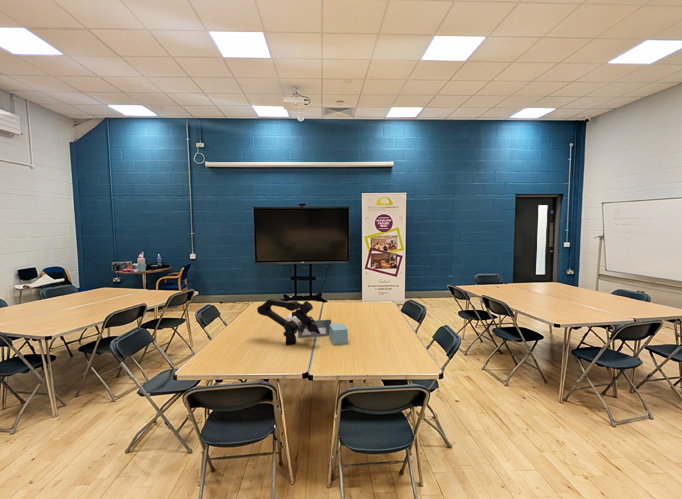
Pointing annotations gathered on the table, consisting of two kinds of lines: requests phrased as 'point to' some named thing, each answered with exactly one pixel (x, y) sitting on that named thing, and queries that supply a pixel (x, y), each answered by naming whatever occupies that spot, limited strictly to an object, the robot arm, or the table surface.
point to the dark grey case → (322, 326)
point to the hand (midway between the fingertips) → (318, 331)
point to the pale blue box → (338, 334)
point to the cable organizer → (293, 319)
